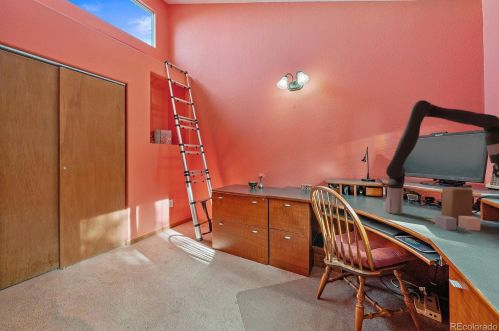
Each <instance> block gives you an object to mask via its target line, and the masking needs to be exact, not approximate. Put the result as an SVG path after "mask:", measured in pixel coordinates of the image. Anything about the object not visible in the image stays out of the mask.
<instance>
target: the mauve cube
mask: <svg viewBox="0 0 499 331" xmlns="http://www.w3.org/2000/svg"><path fill="white" fill-rule="evenodd" d="M434 219H435V223H434V227H436V228H439V229H441V230H444V231H449V230H450V231H451V230H452V231H453V230H457V224H456V218H453V217H449V216H446V215H443V216H442V215H435V218H434Z"/></svg>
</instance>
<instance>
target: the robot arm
mask: <svg viewBox="0 0 499 331" xmlns="http://www.w3.org/2000/svg"><path fill="white" fill-rule="evenodd" d="M425 118H436V119H442V120H446V121H450V122H452V123H453V122H454V123H458V124H463V125H467V126H469V125H470V126H474V127H478V128H482V129H483V132H484V135H485V136H484V141H485V144H486V148H487V151H486V152H487V154H488V157H489V162H490V163H491V164H493V165H492V169H493V172H494V176H495V178H498V179H499V117H498V116H497V115H494V114H488V113H481V112H480V113H479V112H475V111H470V110H466V109H465V110H464V109H459V108H447V107H443V106H438V105H435V104H432V103H431V102H430V101H427V100H424V99H422V100H421V99H420V100H418V101H417V102H415V103H414V104H413V106H412V107H411V111H410V114H409V117H408V120H407V123H406V126H405V127H404V129H403V132H402V134H401V136H400V138H399V141H398V143H397V145H396V148H395V151H394V154H393V156H392V158H391V160H390V162H389V164H388V165H387V167H386V168H385V169H386V170H385V173H386V175H387V176H388V182H387V184H386V185H387V186H386V197H385V210H384V211H385V212H386V213H388V214H394V215H402V214H403V213H404V185H405V177H406V176H405V175H406V171H405V170H406V169H405V168H404V164H405V162H406V160H407V158H408V157H409V156H410V154H411V153H412V152H413V151H414V149H415V148H416V144H417V143H418V140H419V136H420V133H421V132H420V131H421V126H422V122H423V121H424V119H425ZM494 164H495V165H494Z"/></svg>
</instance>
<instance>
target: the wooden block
mask: <svg viewBox="0 0 499 331" xmlns="http://www.w3.org/2000/svg"><path fill="white" fill-rule="evenodd" d="M441 191H442V192H441V216H443V215H446V216H449V217H453V218H456V225H457V224H458V220H459V216H472V217H473V197H474V196H473V192H474V191H473V190H472V189H470V188H465V187H460V186H459V187H457V186H456V187H455V186H444V187H442V190H441Z"/></svg>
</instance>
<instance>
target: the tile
mask: <svg viewBox="0 0 499 331" xmlns="http://www.w3.org/2000/svg"><path fill="white" fill-rule="evenodd" d="M424 220H425V221H426V222H430V223H432V224H435V218H424Z"/></svg>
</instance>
